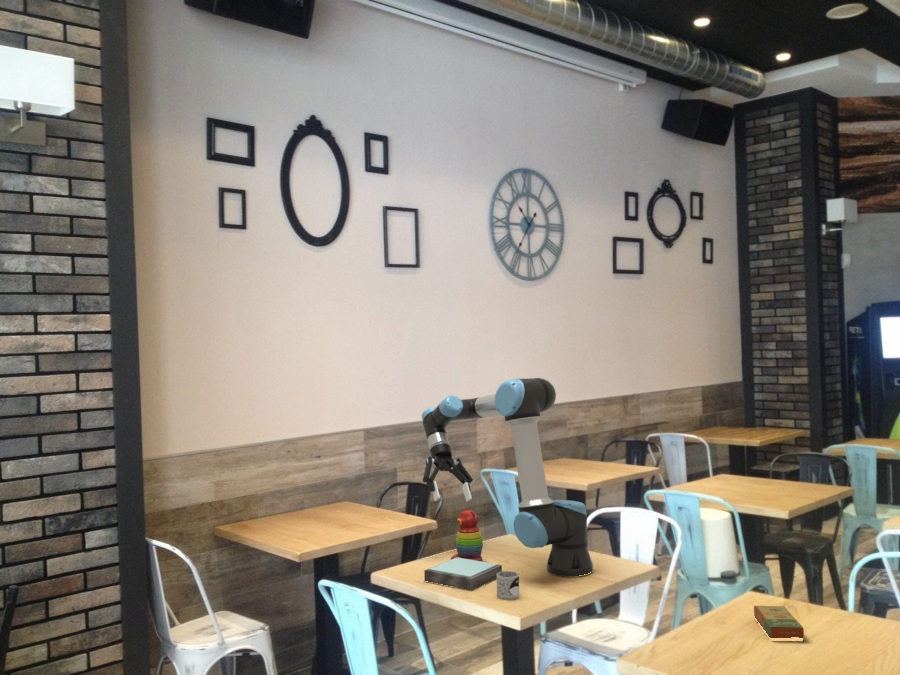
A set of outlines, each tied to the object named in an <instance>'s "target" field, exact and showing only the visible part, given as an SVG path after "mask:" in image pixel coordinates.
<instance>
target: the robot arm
mask: <svg viewBox="0 0 900 675" xmlns="http://www.w3.org/2000/svg"><path fill="white" fill-rule="evenodd" d="M556 399H557V392H556V389H555V387H554V385H553V384H552V383H551V382H550V381H549V380H547V379H545V378H542V377H531V378H513V379H509V380H508V379H507V380H505V381H503V382H502V383H501V384H499V386H498V389H497V390H496V392H495V393H494V394H489V395H484V396H480V397H479V396H478V397H474V398H473V397H472V398H465V399H461V398H459V397H458V396H456V395H453V394H450V395H447V396H446V397H445V398H444V399H442V400H441V402H440V403H439V404H438V405H437V406H436V407H429V408H427V409H426V410H424V411H422V413H421V420H422V425H423V429H424V433H425V437H426V440H427V444H428V449H429V452H430V456H428V458H426V460H425V469H424V474H423V478H422V482H423V483H426V485H427V486H428V487H429V491H430V492H431V493H432V495H433V496H432V497H433V500H434V502H438V500H440V498H441V495H440V492H439V488H438V484H437V481H436V480H435V478H436V477H437V476H438V474H439V471H440V472H449V473H450V474H451V475H453V476H454V477H456V479H457V480H458V481H459V482H460V483H461V484H462V485H461V488H462V491H463V495H464V498H465V502H466V503H469V502H470V501H471V500H472V499H473V497H472V494H471V491H472V490H471V486H470V484H471V483H472V482H473V481H474V479H473V477H472V476H471V474H470V473H469V472H468V470H467V469H466V468H465V467H464V465H463V464H462V460H461V459H460V458H457V459H454V458H453V457H452V456H453V454H452V453H453V452H452V449H451V446H450V442H449V439H448V438H449V437H448V434H447V431H446V427H447V426H449V424H450V423H451V422H454V421H460V420H461V421H462V420H464V421H465V420H471V419H472V420H473V419H484V418H487V417H490V416H496V415H497V416H498V415H501V416H503V417H504V421H505V422H504V423H505V424H507V425H509V427H510V430H511V436H512V442H513V449H514V451H513V452H514V455H515V462H516V468H517V470H516V471H517V474H518V475H517V477H518V482H519V489H520V496H521V502H520V503H519V505H518V513H517V514H516V515H515V517H514V520H513V523H512V524H513V531H514V534H515V536H516V538H517V540H518V541H519V542H520V543H522V545H523V546H524V547H526V548H530V549H537V548H544V547H546V546H550V545H551V549H550V553H549V555H548V559H547V563H546V571H547V572H548V573H549V574H551V575H554V576H559V577H564V576H579V575H584V574H588V573H590V572H592V571H593V572H594V565H593V560H592V558H591V555H590V551H589V549H588V513H587V506H586V505H585V503H583V502H580V501H578V500H577V501H576V500H569V499H568V500H567V499H551V497H549V492H548V485H547V480H546V475H545V474H546V472H545V466H544V460H543V455H542V449H541V442H540V436H539V431H538V430H539V429H538V424H537V423H538V422H539V420H540V419H541V413H544V412H546V411H548V410H550V409H551V408H552V407H553V406H554V405H555V402H556ZM432 465H434V466H435V467H434V469H433V471H432V473H431V470H432V467H433V466H432ZM593 572H592V573H593ZM579 577H580V576H579Z"/></svg>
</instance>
